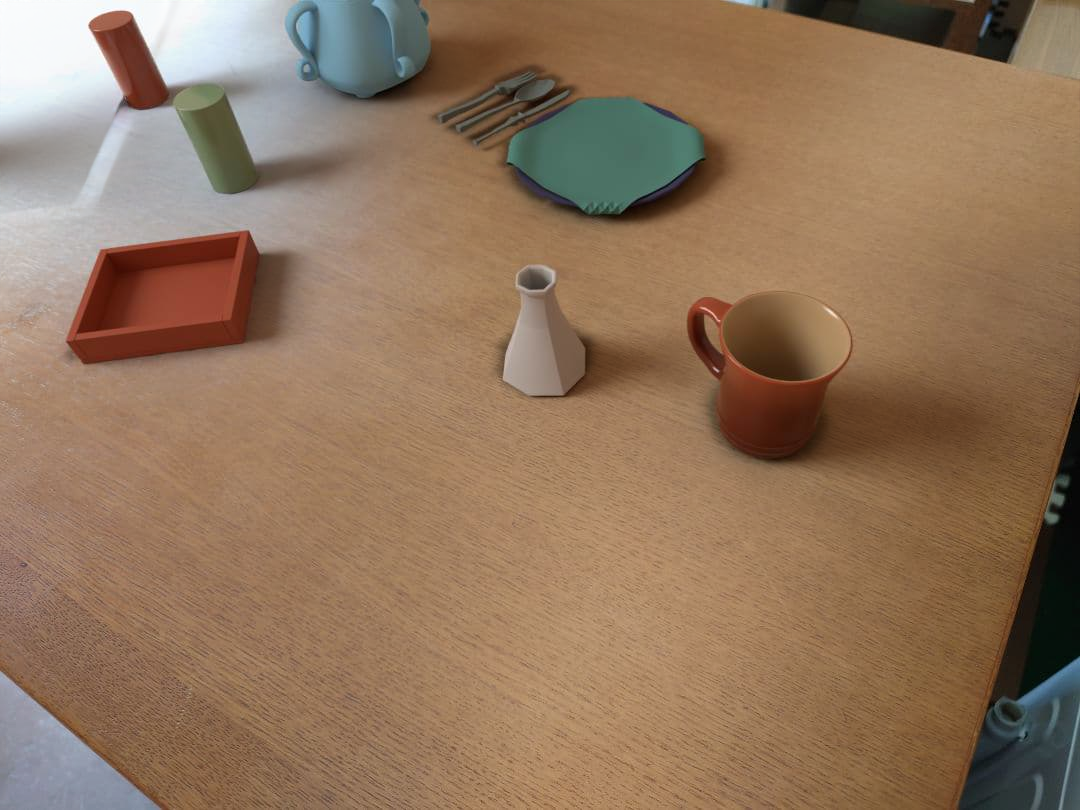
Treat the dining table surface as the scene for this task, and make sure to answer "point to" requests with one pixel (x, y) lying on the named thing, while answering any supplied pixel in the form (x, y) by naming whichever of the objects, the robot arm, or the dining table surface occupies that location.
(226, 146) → the sage canister
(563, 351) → the flask
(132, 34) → the terracotta canister
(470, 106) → the cutlery set
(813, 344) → the mug
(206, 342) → the terracotta tray
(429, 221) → the dining table surface
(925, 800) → the dining table surface
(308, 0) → the decorative pot
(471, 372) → the dining table surface
